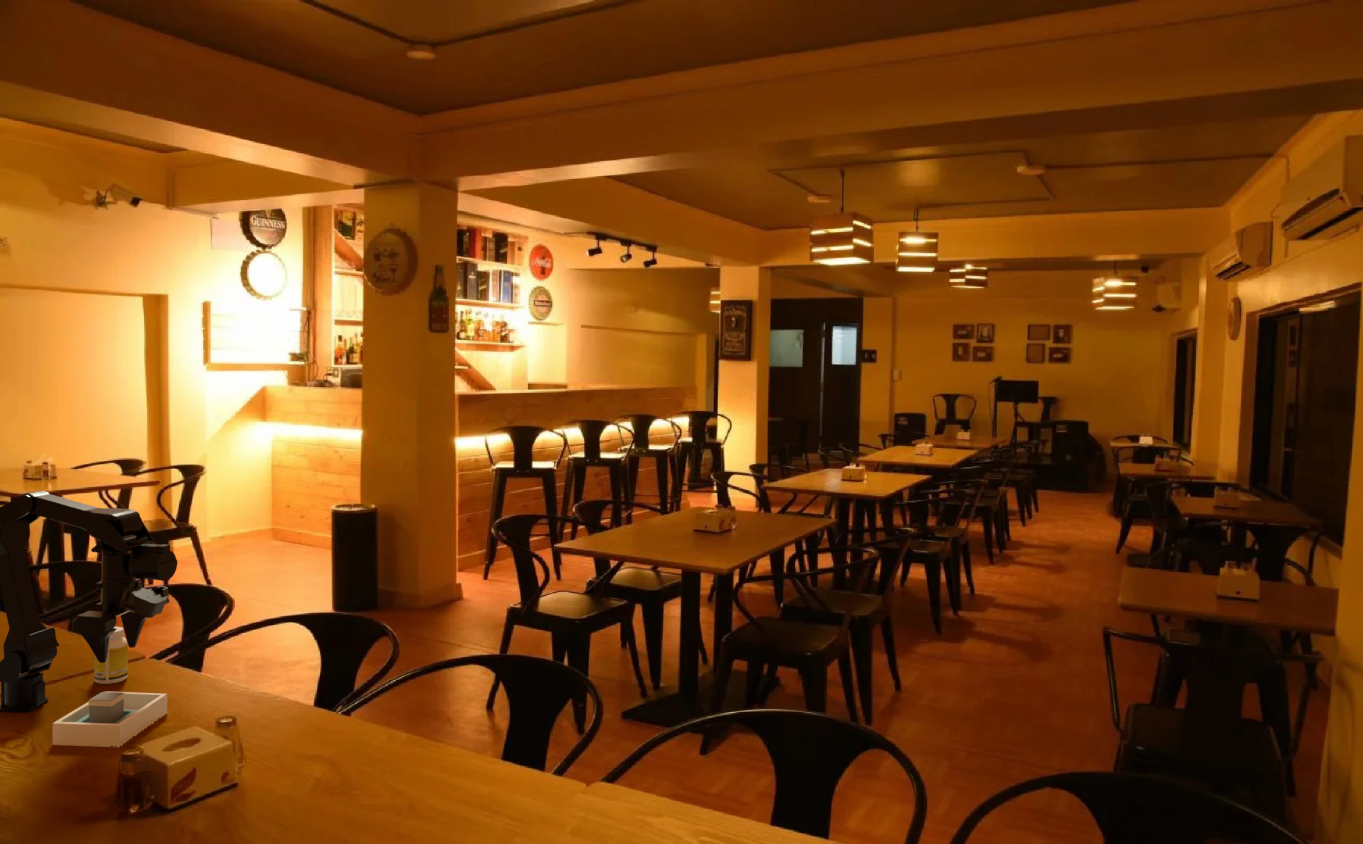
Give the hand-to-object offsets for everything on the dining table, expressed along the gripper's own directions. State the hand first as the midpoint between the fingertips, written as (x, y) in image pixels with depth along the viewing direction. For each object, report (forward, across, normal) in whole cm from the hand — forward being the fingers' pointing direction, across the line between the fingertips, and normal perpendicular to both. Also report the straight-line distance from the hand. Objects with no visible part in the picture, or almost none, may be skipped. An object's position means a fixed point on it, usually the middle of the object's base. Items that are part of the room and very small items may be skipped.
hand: (117, 654), depth 181 cm
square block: (+11, -8, -3) cm, 14 cm away
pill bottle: (+13, +19, +13) cm, 26 cm away
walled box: (+12, -6, -3) cm, 14 cm away
